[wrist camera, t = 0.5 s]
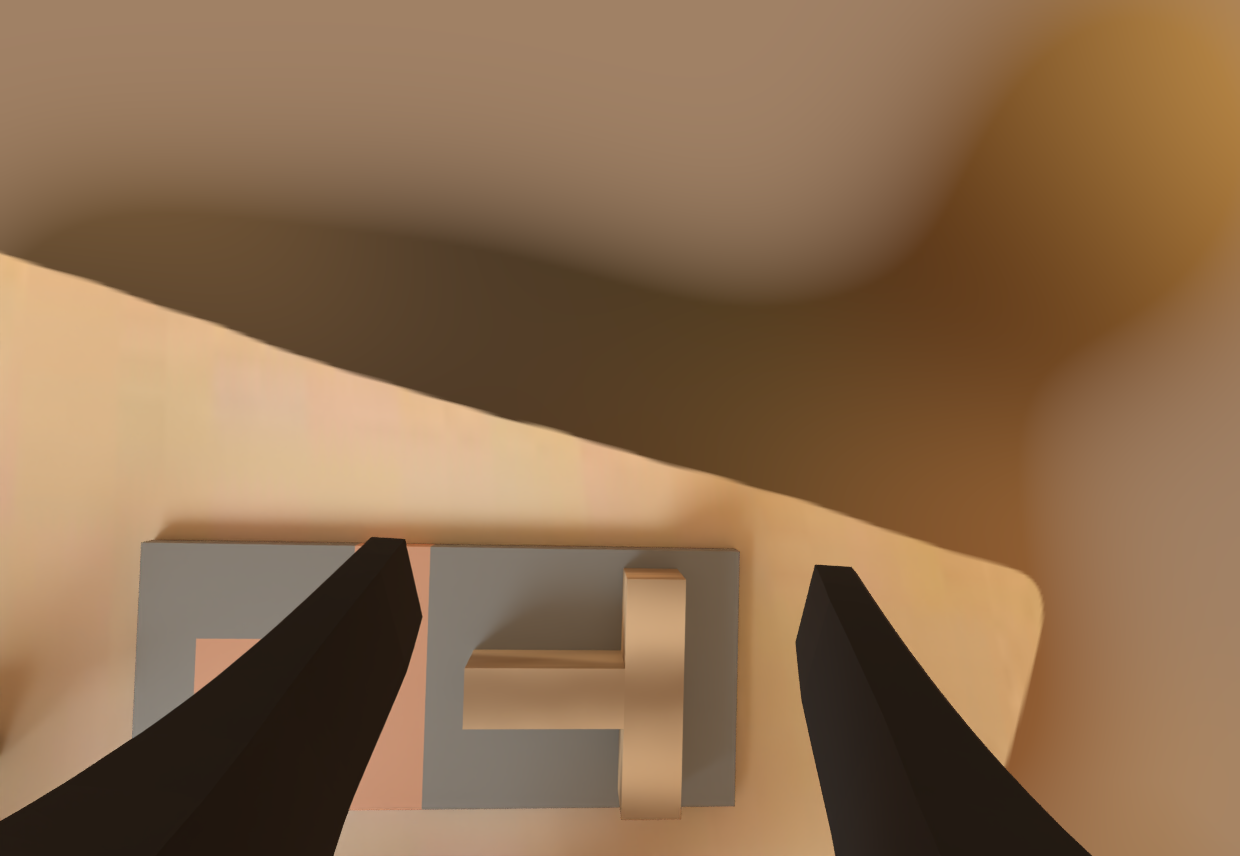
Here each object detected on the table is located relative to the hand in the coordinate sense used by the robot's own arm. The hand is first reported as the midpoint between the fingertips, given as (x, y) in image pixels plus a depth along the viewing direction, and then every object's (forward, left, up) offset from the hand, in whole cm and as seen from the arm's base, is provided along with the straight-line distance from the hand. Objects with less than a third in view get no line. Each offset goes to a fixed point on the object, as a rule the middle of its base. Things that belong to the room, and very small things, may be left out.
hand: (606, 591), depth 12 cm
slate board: (-10, +7, -26) cm, 28 cm away
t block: (-10, 0, -25) cm, 27 cm away
